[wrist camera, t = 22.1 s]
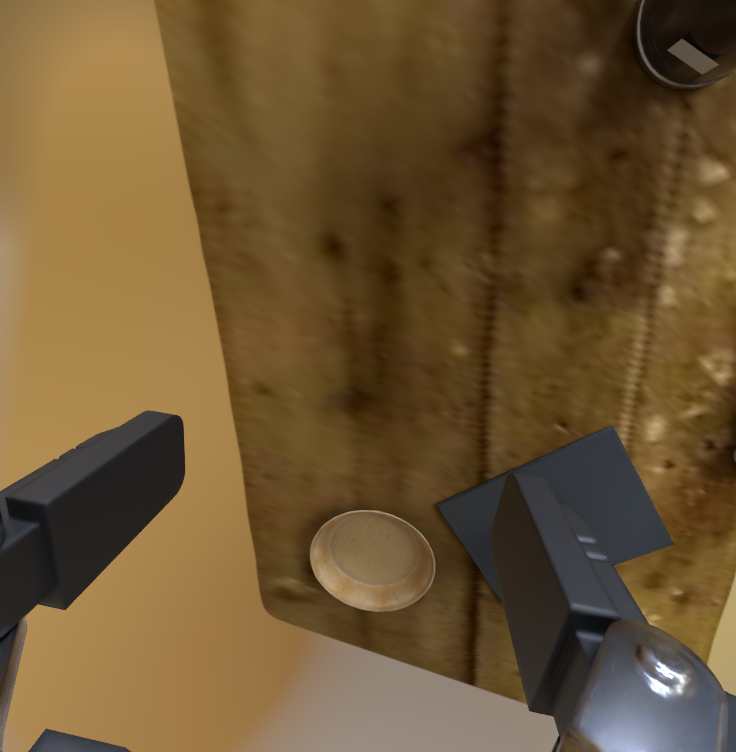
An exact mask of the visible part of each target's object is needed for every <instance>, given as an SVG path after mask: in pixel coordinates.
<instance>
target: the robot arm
mask: <svg viewBox="0 0 736 752" xmlns="http://www.w3.org/2000/svg"><path fill="white" fill-rule="evenodd" d="M633 41H634V48H635V53H636V56H637V59H638V61H639V63H640V65H641V67H642V68H643V70H644V71H645V73H646V74H647V75H648V76H649V77H650V78H651V79H652V80H654V81H655V82H656V83H658V84H660V85H662V86H664V87H667V88H671V89H676V90H693V89H698V88H702V87H705V86H708V85H711V84H713V83H715V82H717V81H719V80H721V79H723V78H725V77H727V76H728V75H730V74H732V73H733V72H735V71H736V0H639V3H638V6H637V9H636V13H635V18H634V25H633ZM184 475H185V452H184V428H183V421H182V419H181V417H179V416H178V415H172V414H166V413H161V412H155V411H145V412H142V413H141V414H139V415H138V416H136V417H134V418H133V419H131V420H129V421H128V422H126V423H125V424H123V425H121V426H120V427H117V428H114V429H111V430H108V431H105V432H102V433H99V434H97V435H95V436H93V437H91V438H90V439H88V440H86V441H85V442H83V443H81V444H79V445H78V446H77V447H76V449H71V450H69V451H68V452H66V453H64V454H63V455H61V456H60V457H59V459H54V460H53V461H51V462H49V463H47V464H46V465H44V466H42V467H41V468H39V469H37V470H36V471H34V472H32V473H31V474H29V475H27V476H25V477H24V478H22V479H20V480H18V481H17V482H15V483H14V484H12V485H10V486H8V487H7V488H5V489H3V490H2V491H0V752H2V748H3V736H4V730H5V725H6V721H7V716H8V711H9V707H10V702H11V698H12V694H13V689H14V685H15V681H16V676H17V672H18V667H19V663H20V658H21V654H22V650H23V645H24V641H25V636H26V632H27V621H26V617H25V616H26V614H28V613H29V612H30V611H31V610H32V609H33V608H34V607H35V606H36V605H37V604H39V605H44V606H48V607H53V608H58V609H62V610H66V609H67V608H68V607H69V606H70V605H71V603H72V602H73V601H74V600H75V599H76V598H77V597H78V596H79V595H80V594H81V593H82V592H83V591H84V590H85V589H86V588H87V587H88V586H89V585H90V584H91V583H92V582H93V581H94V580H95V579H96V578H97V576H98V575H99V574H100V573H101V572H102V571H103V570H104V569H105V568H106V567H107V566H108V565H109V564H110V563H111V562H112V561H113V560H114V559H115V558H116V557H117V556H118V555H119V554H120V553H121V552H122V551H123V549H124V548H125V547H126V546H127V545H128V544H129V543H130V542H131V541H132V540H133V539H134V538H135V537H136V536H137V535H138V534H139V533H140V532H141V531H142V530H143V529H144V528H145V527H146V526H147V524H149V522H150V521H151V520H152V519H153V518H154V517H155V516H156V515H157V514H158V513H159V512H160V511H161V510H162V509H163V508H164V507H165V506H166V505H167V504H168V503H169V502H170V501H171V500H172V499H173V498H174V496H175V495H176V494H177V493H178V491H179V490H180V488H181V485H182V483H183V480H184ZM490 547H491V555H492V560H493V564H494V568H495V572H496V576H497V580H498V584H499V588H500V593H501V597H502V601H503V605H504V609H505V613H506V617H507V622H508V626H509V630H510V634H511V638H512V642H513V646H514V650H515V655H516V659H517V663H518V667H519V671H520V675H521V679H522V684H523V688H524V692H525V696H526V700H527V704H528V708H529V711H531V712H536V713H540V714H545V715H550V716H554V719H555V723H556V725H557V729H558V733H559V736H558V739H557V741H556V743H555V745H554V748H553V750H552V752H736V696H734V695H732V694H729V693H728V692H726V691H724V690H723V688H722V686H721V684H720V683H719V681H718V680H717V678H716V677H715V675H714V674H713V672H712V671H711V670H710V669H709V667H708V666H707V665H706V664H705V663H704V662H703V661H702V660H701V659H700V658H699V657H698V656H697V655H696V654H695V653H694V652H693V651H692V650H691V649H689V648H688V647H687V646H686V645H684V644H683V643H682V642H680V641H679V640H678V639H676V638H675V637H673V636H671V635H670V634H668V633H666V632H665V631H663V630H661V629H659V628H657V627H655V626H652V625H650V624H649V623H648V622H647V620H646V618H645V617H644V615H643V613H642V612H641V610H640V608H639V607H638V605H637V604H636V602H635V600H634V599H633V597H632V595H631V594H630V592H629V591H628V589H627V587H626V586H625V584H624V582H623V581H622V579H621V578H620V576H619V574H618V573H617V571H616V569H615V568H614V566H613V565H612V563H611V562H609V561H608V556H607V555H606V553H605V551H604V550H603V548H602V547H601V545H598V540H597V538H596V537H595V535H594V534H593V532H592V530H591V529H590V527H589V525H588V524H587V522H586V521H585V520H584V519H582V518H581V517H580V516H579V515H578V514H577V513H576V512H575V511H574V510H573V509H571V508H570V507H569V506H568V505H566V504H560V503H558V501H557V499H556V497H555V495H554V494H553V492H552V490H551V488H550V486H549V485H548V483H547V481H546V480H545V479H543V478H538V477H532V476H526V475H520V474H514V473H510V474H509V475H508V476H507V478H506V480H505V483H504V487H503V490H502V494H501V497H500V501H499V504H498V508H497V511H496V515H495V518H494V522H493V526H492V530H491V540H490ZM29 752H131V751H129V750H128V749H126V748H125V747H121V746H116V745H112V744H108V743H104V742H100V741H96V740H91V739H87V738H83V737H79V736H75V735H70V734H66V733H62V732H58V731H53V730H49V729H45V731H44V732H43V733H42V735H41V736H40V737H39V738H38V740H37V741H36V742H35V744H34V745H33V746H32V748H31V749H30V750H29Z"/></svg>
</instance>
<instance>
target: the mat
mask: <svg viewBox="0 0 736 752" xmlns="http://www.w3.org/2000/svg"><path fill="white" fill-rule="evenodd" d="M510 473H514V474H520V475H526V476H532V477H538V478H543V479H545V480H546V481H547V483H548V485H549V486H550V488H551V490H552V492H553V494H554V495H555V497H556V499H557V501H558V503H560V504H566V505H568V506H569V507H570V508H571V509H573V510H574V511H575V512H576V513H577V514H578V515H579V516H580V517H581V518H582V519H584V520H585V521H586V522H587V524H588V525H589V527H590V529H591V530H592V532H593V534H594V535H595V537H596V538H597V540H598V545H601V547H602V548H603V550H604V551H605V553H606V555H607V556H608V561H609V562H611V563H612V565H616V564H619V563H622V562H625V561H628V560H630V559H633V558H636V557H639V556H642V555H645V554H648V553H650V552H653V551H656V550H659V549H662V548H665V547H667V546H670V545H673V544H674V543H673V541H672V539H671V537H670V536H669V534H668V532H667V530H666V528H665V526H664V524H663V522H662V520H661V518H660V516H659V514H658V512H657V510H656V508H655V507H654V505H653V503H652V501H651V499H650V497H649V495H648V493H647V491H646V489H645V487H644V485H643V483H642V481H641V479H640V477H639V476H638V474H637V472H636V470H635V468H634V466H633V464H632V462H631V460H630V458H629V456H628V454H627V452H626V450H625V448H624V446H623V445H622V443H621V441H620V439H619V437H618V435H617V433H616V431H615V429H614V428H613V427H612V426H610V427H607V428H605V429H603V430H601V431H598V432H596V433H594V434H592V435H590V436H587V437H585V438H583V439H581V440H578V441H576V442H574V443H572V444H569V445H567V446H565V447H563V448H560V449H558V450H556V451H554V452H552V453H549V454H547V455H545V456H543V457H540V458H538V459H536V460H534V461H531V462H529V463H527V464H525V465H522V466H520V467H518V468H516V469H514V470H511V471H509V472H507V473H505V474H502V475H500V476H498V477H496V478H493V479H491V480H489V481H487V482H484V483H482V484H480V485H478V486H476V487H473V488H471V489H469V490H467V491H464V492H462V493H460V494H458V495H455V496H453V497H451V498H449V499H447V500H444V501H442V502H440V503H438V504H437V506H438V508H439V510H440V511H441V513H442V514H443V516H444V517H445V519H446V520H447V522H448V523H449V525H450V526H451V528H452V529H453V530H454V532H455V533H456V535H457V536H458V538H459V539H460V541H461V542H462V544H463V545H464V547H465V548H466V550H467V551H468V553H469V554H470V556H471V557H472V559H473V560H474V562H475V563H476V565H477V566H478V568H479V569H480V571H481V572H482V574H483V575H484V577H485V578H486V580H487V581H488V582H489V584H490V585H491V587H492V588H493V590H494V591H495V593H496V594H497V596H498V597H499V599H500V600H501V602H502V603H503V601H502V597H501V593H500V588H499V584H498V580H497V576H496V572H495V568H494V564H493V560H492V555H491V547H490V540H491V530H492V526H493V522H494V518H495V515H496V511H497V508H498V504H499V501H500V497H501V494H502V490H503V487H504V483H505V480H506V478H507V476H508V475H509V474H510Z"/></svg>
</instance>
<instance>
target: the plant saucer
mask: <svg viewBox="0 0 736 752" xmlns="http://www.w3.org/2000/svg"><path fill="white" fill-rule="evenodd" d="M310 563H311V567H312V570H313V572H314V575H315V576H316V578H317V580H318V581H319V582H320V584H321V585H322V586H323V587H324V589H325V590H326V591H327V592H328V593H329V594H331V595H332V596H333V597H335V598H336V599H338V600H339V601H341V602H343V603H345V604H347V605H349V606H352V607H355V608H358V609H361V610H366V611H374V612H386V611H394V610H398V609H402V608H404V607H407V606H409V605H411V604H413V603H415V602H416V601H418V600H419V599H420V598H421V597H422V596H423V595H424V594H425V593H426V592H427V591H428V589H429V588H430V586H431V584H432V582H433V579H434V575H435V559H434V555H433V552H432V549H431V547H430V545H429V543H428V542H427V540H426V539H425V538H424V536H423V535H422V534H421V533H420V532H419V531H418V530H417V529H416V528H415V527H413V526H412V525H411V524H409V523H408V522H406V521H405V520H403V519H401V518H399V517H397V516H395V515H392V514H390V513H386V512H383V511H377V510H356V511H351V512H347V513H344V514H341V515H339V516H336V517H334V518H333V519H331V520H329V521H328V522H327V523H325V524H324V525H323V526H322V527H321V528H320V529H319V531H318V532H317V533H316V535H315V537H314V539H313V541H312V544H311V548H310Z"/></svg>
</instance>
